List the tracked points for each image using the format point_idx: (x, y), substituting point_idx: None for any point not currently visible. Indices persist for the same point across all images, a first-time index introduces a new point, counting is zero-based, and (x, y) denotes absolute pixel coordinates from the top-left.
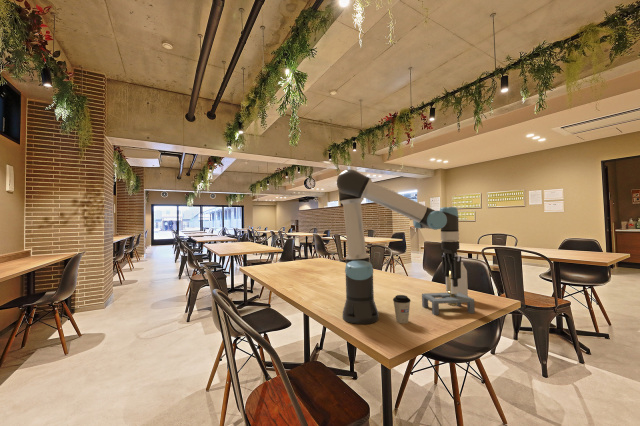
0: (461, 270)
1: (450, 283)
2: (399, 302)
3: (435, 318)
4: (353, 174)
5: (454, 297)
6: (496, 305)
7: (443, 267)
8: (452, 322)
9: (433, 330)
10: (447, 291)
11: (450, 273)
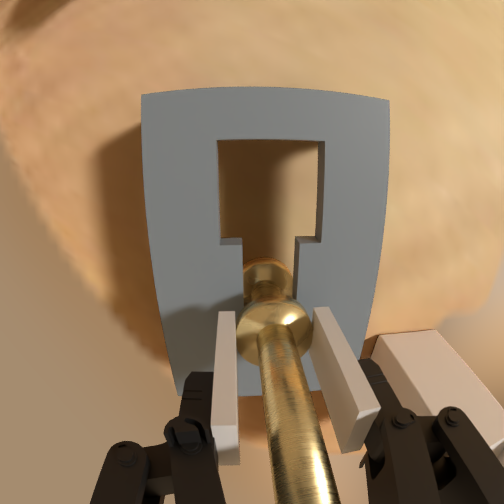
0: None
1: (276, 380)
2: None
3: (118, 97)
4: None
5: None
6: None
7: (476, 483)
8: (62, 168)
9: (11, 61)
10: (447, 346)
11: (290, 492)
